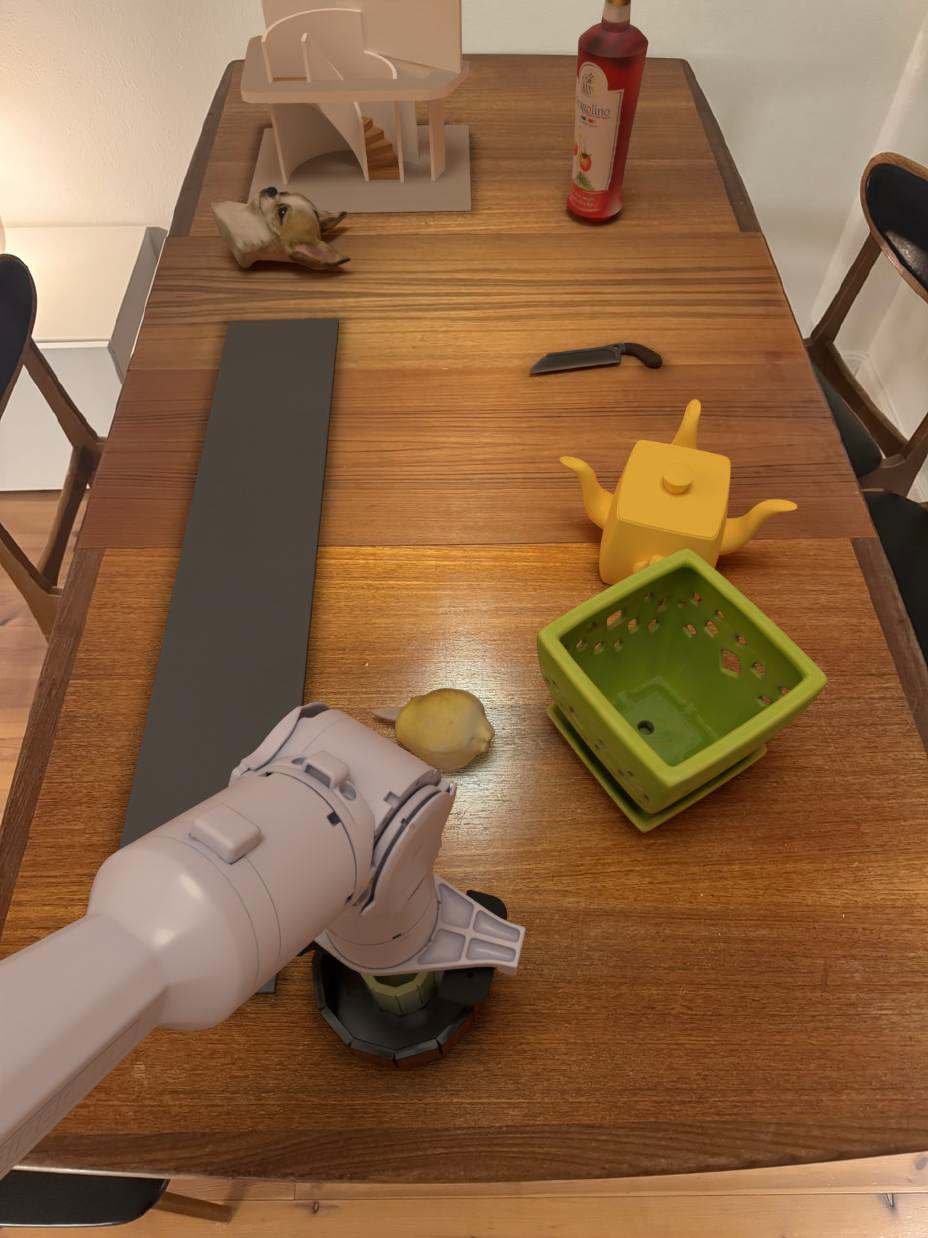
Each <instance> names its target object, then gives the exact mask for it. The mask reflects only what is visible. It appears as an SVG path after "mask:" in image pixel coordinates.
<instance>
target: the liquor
mask: <svg viewBox="0 0 928 1238" xmlns="http://www.w3.org/2000/svg"><path fill="white" fill-rule="evenodd" d="M631 9H632V0H604V3H603V9H602V14H601V15H602V16H601V21H600V22H599V23H595V24H592V25H591V26H590V27H588V29H587V30H586V31H584V32H583V33H582V34H580V36H579V37H578V42H577V60H576V61H577V62H576V63H577V64H576V80H575V103H574V105H575V106H574V107H575V108H574V135H573V152H572V153H573V154H572V156H573V157H572V170H571V183H570V184H571V185H570V192H569V194H568V195H567V197H566V200H565V201H566V205H567V208H569V210H571V212H572V213H573V214H574V215H575V216H577V218H579V219H580V220H582V221H584V222H588V223H602V222H605V221H607V220H609V219H610V218H613V216H614V215H616V214H617V213H619V212H620V211H621V210H622V208H623V207H624V200H623V198H622V195H621V194H622V188H623V183H624V182H623V181H624V177H625V169H626V163H627V159H628V153H629V148H630V141H631V137H632V131H633V126H634V121H635V116H636V111H637V107H638V102H639V97H640V92H641V86H642V80H643V77H644V69H645V65H646V59H647V55H648V49H649V48H648V47H649V40H648V38H647V37H646V36H645V35H644V33H643V32H642V31H641V30H640V29H639V28H638V27H636V26H635V25H633V24H631Z"/></svg>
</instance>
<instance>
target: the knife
mask: <svg viewBox="0 0 928 1238" xmlns="http://www.w3.org/2000/svg"><path fill="white" fill-rule="evenodd" d="M623 353H624V354H630V355H635V356H636V357H637V358H639V359H640V360H641V361H642V362H643V363H645V364H646V365H647V366H649V367H651V368H652V367H653V368H658V367H659V366H661V365H663V358H662V356H661V355H660V354H659V353H657V352H656V351H654V350H652V349H651V348H649V347H647V346H645V345H643V344H640V343H636V342H621V343H620V342H617V343H616V342H615V343H611V344H606V345H603V346H602V345H601V346H595V347H587V348H581V349H580V348H579V349H570V350H562V351H556V352H555V351H554V352H549V353H547V354H546V355H545V356H543V357H541V358H540V359H538V361H537V362H536V363H535V364H533V365H532V366H531V368H530V369H529V371H528V374H536V373H544V372H545V373H546V372H550V371H551V372H552V371H559V370H560V371H561V370H568V369H577V368H585V367H592V366H599V365H609V364H615V363H616V364H617V363H620V362H621V361H622V354H623Z"/></svg>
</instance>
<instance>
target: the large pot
mask: <svg viewBox="0 0 928 1238" xmlns="http://www.w3.org/2000/svg"><path fill="white" fill-rule="evenodd" d="M310 963H311V965H310V971H311V977H312V985H313V990H314V991H313V992H314V996H315V1003H316V1009H317V1010H318V1012H319V1015H320V1017H322V1019H323V1020H324V1022H325V1023H326V1024H327V1025H328V1026H329V1028H330V1029H331V1030H332V1031H333V1033H334V1034H335V1035H336V1036H337V1038H339V1040H340V1041H341V1042H342V1043H343V1044H344V1046H345V1047H346V1048H347V1049H348V1051H350V1053H351V1054H352V1055H353V1057H356V1058H357V1059H358V1060H361V1061H364V1062H367V1063H370V1064H372V1065H376V1066H377V1067H382V1068H386V1069H387V1068H388V1069H391V1070H395V1071H398V1070H400V1071H404V1070H407V1069H411V1068H417V1067H421V1066H424V1065H427V1064H429V1063H432V1062H433V1061H438V1060H440V1059H441V1058H442V1057H445V1056H446V1055H447V1054H448V1053H449V1051H451V1050H452V1049H453V1048H454V1047H455V1046H457V1044H458V1043H460V1041H462V1039H463V1038H464V1036H465V1035H466V1034H467V1032H469V1030H470V1029H471V1028H472V1027H473V1025H474V1022H475V1021H476V1019H477V1014H478V1010H479V1006H480V1005H479V1006H469V1005H465V1004H461V1003H458V1002H454V1001H451V1000H447V999H444V998H440V997H438V993H439V989H440V986H441V982H442V978H443V974H444V971H445V970H439V971H436V985H435V989H434V992H433V994H432V996H431V998H430V999H429V1001H428V1002H427V1003H426V1004H425V1005H424V1006H423V1007H422V1008H420V1009H419V1010H417V1011H415V1012H413V1013H410V1014H406V1015H396V1014H392V1013H389V1012H387V1011H385V1010H383V1009H382V1008H381V1007H379V1006H378V1004H377V1003H376V1002H375V1001H374V999H373V997H372V996H371V994H370V993H369V991H368V989H367V987H366V985H365V983H364V981H363V979H362V977H361V975H360V973H359V972H357V971H355V970H353V969H351V968H349V967H348V966H346V965H345V964H343V963H342V962H341V961H340V960H338V959H337V958H336V957H334V956H333V955H332V956H330V955H326V954H322V953H319V952H316V951H314V952H313V955H312V958H311V962H310Z"/></svg>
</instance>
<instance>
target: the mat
mask: <svg viewBox="0 0 928 1238" xmlns="http://www.w3.org/2000/svg"><path fill="white" fill-rule="evenodd" d="M339 328H340V319H339V318H311V319H309V318H308V319H304V318H303V319H265V320H262V319H261V320H229V321H228V324H227V329H226V334H225V339H224V343H223V348H222V353H221V358H220V362H219V367H218V372H217V376H216V382H215V387H214V392H213V395H212V396H213V397H212V401H211V405H210V411H209V415H208V420H207V424H206V429H205V435H204V438H203V445H202V448H201V453H200V458H199V463H198V468H197V473H196V478H195V483H194V487H193V491H192V497H191V502H190V507H189V512H188V515H187V520H186V526H185V530H184V534H183V535H184V536H183V539H182V545H181V549H180V554H179V559H178V565H177V569H176V574H175V579H174V583H173V588H172V593H171V596H170V603H169V607H168V613H167V616H166V617H167V618H166V622H165V627H164V632H163V637H162V641H161V646H160V652H159V654H158V655H159V656H158V660H157V665H156V671H155V675H154V680H153V684H152V689H151V695H150V699H149V702H148V703H149V704H148V708H147V714H146V718H145V723H144V728H143V733H142V737H141V742H140V747H139V752H138V756H137V762H136V766H135V771H134V775H133V781H132V785H131V789H130V795H129V799H128V800H129V801H128V805H127V810H126V814H125V819H124V824H123V827H122V833H121V838H120V844H119V848H118V850H120V849H122V848H124V847H125V846H127V845H129V844H131V843H133V842H134V841H136V840H138V839H139V838H141V837H143V836H144V835H146V834H148V833H150V832H151V831H153V830H155V829H157V828H158V827H160V826H162V825H163V824H165V823H167V822H169V821H170V820H172V819H174V818H176V817H177V816H179V815H181V814H182V813H184V812H186V811H188V810H189V809H191V808H193V807H195V806H196V805H198V804H200V803H201V802H203V801H205V800H207V799H208V798H210V797H212V796H214V795H215V794H217V793H219V792H221V791H222V790H224V789H226V788H227V787H228V786H229V782H230V778H231V774H232V771H233V770H234V769H235V768H236V767H238V766H239V765H240V763H241V761H242V759H244V758H246V757H248V756H249V755H251V754H252V753H253V752H254V751H255V750H256V749H257V748H258V747H259V746H260V745H261V744H262V742H263V741H264V740H265V739H266V737H267V736H268V735H269V734H270V732H271V731H272V730H273V729H274V728H275V727H276V726H277V725H278V723H279V722H280V721H281V720H282V719H283V718H285V717H286V716H287V715H288V714H289V713H290V712H291V711H293V710H294V709H295V708H297V707H298V706H304V699H305V698H304V697H305V696H304V695H305V686H306V676H307V666H308V655H309V644H310V634H311V633H310V632H311V623H312V612H313V602H314V593H315V592H314V590H315V583H316V571H317V570H316V569H317V559H318V551H319V550H318V549H319V537H320V529H321V528H320V527H321V526H320V525H321V519H322V509H323V508H322V506H323V497H324V485H325V475H326V465H327V456H328V455H327V454H328V444H329V435H330V433H329V432H330V424H331V412H332V411H331V410H332V401H333V392H334V383H335V381H334V380H335V370H336V359H337V350H338V349H337V348H338V339H339V330H340V329H339ZM277 981H278V973H277V974H275V975H274V976H273V977H272V978H271V979H270V980H269V981H268V982H267V983H266V984H264V985H263V986H262V987H261V988H260V989H259V990H258V991H257V992H256V993H255V994H254V995H264V994H266V995H267V994H270V995H271V994H276V992H277V983H278V982H277Z"/></svg>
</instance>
